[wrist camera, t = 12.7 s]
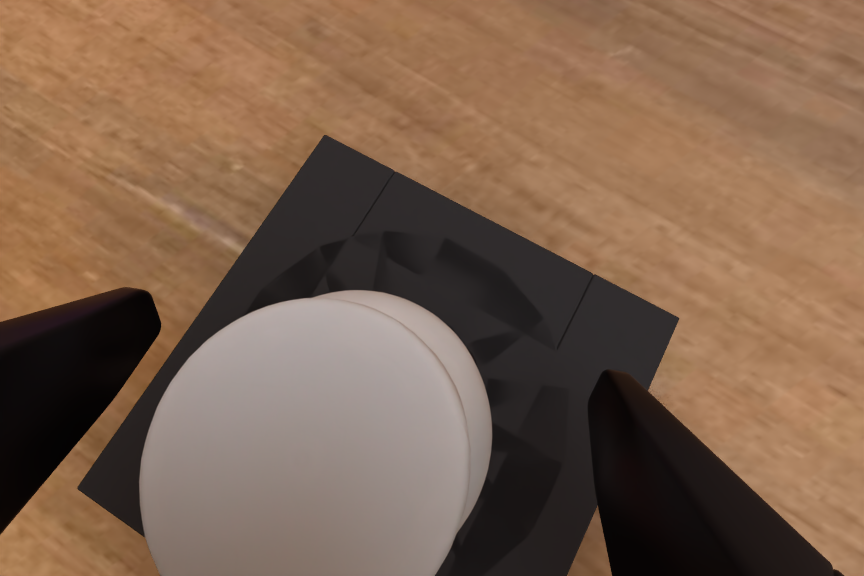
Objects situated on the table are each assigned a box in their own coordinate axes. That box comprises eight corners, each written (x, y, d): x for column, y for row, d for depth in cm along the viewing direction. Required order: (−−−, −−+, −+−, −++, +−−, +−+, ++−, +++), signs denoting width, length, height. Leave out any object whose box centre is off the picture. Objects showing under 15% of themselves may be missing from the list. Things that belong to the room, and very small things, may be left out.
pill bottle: (468, 479, 13) (546, 749, 4) (316, 480, 13) (19, 746, 4) (464, 326, 15) (516, 239, 5) (324, 327, 15) (110, 243, 5)
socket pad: (647, 325, 14) (680, 317, 12) (471, 712, 12) (478, 778, 10) (338, 162, 16) (324, 133, 14) (126, 472, 14) (74, 488, 12)
